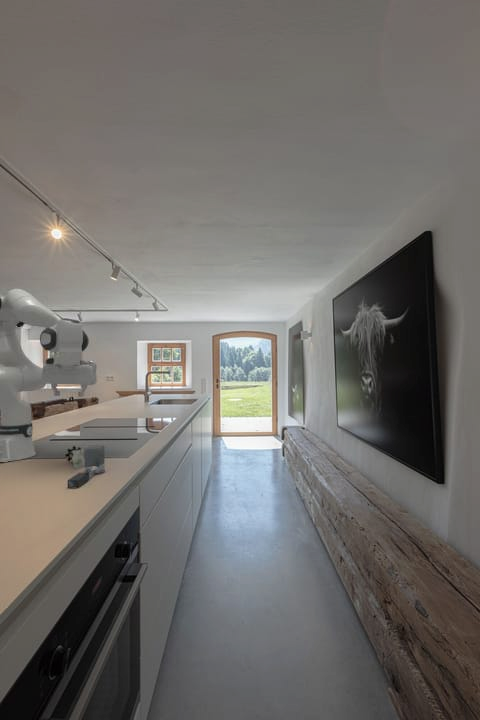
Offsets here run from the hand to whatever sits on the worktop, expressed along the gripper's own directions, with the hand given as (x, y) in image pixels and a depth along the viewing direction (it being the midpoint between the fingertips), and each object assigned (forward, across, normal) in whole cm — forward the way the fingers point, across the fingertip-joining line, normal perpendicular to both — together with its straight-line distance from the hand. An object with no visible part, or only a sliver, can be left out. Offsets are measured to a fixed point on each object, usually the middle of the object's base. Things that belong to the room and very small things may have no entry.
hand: (69, 396), depth 136 cm
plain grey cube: (+24, -14, +8) cm, 29 cm away
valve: (+28, -3, -2) cm, 28 cm away
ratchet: (+26, -14, +15) cm, 33 cm away
